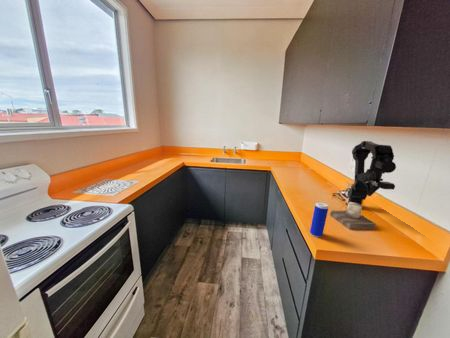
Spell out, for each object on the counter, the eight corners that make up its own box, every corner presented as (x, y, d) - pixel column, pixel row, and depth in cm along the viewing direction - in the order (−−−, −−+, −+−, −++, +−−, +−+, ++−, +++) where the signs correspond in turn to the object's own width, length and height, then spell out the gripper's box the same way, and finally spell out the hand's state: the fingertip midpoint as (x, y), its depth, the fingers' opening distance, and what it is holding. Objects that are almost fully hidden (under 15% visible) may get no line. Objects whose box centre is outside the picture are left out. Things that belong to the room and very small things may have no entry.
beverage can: (318, 231, 85) (324, 202, 82) (324, 238, 80) (331, 207, 77) (307, 231, 85) (313, 201, 81) (313, 237, 80) (319, 206, 76)
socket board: (330, 215, 102) (331, 210, 102) (352, 215, 104) (353, 210, 103) (349, 229, 89) (350, 223, 88) (374, 229, 90) (376, 223, 90)
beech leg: (341, 218, 99) (345, 202, 97) (351, 218, 100) (355, 202, 97) (350, 224, 93) (354, 207, 91) (360, 224, 94) (365, 207, 91)
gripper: (349, 164, 104) (343, 189, 108) (379, 172, 86) (370, 202, 90) (366, 164, 105) (360, 190, 109) (400, 173, 87) (390, 203, 91)
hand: (369, 195), depth 99 cm, fingers closed
